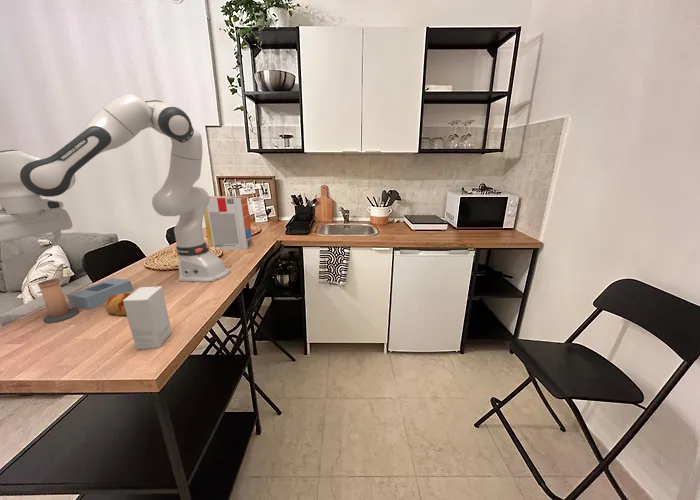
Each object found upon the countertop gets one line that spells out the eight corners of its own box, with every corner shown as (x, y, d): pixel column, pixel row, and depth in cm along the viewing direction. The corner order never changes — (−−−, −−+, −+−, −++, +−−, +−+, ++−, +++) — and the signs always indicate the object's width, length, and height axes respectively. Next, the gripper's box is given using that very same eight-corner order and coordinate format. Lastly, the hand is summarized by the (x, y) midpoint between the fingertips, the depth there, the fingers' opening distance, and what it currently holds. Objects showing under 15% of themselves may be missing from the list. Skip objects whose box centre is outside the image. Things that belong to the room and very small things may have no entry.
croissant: (104, 315, 108) (86, 302, 102) (127, 294, 114) (111, 280, 109) (139, 327, 99) (121, 313, 94) (162, 303, 105) (146, 289, 100)
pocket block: (133, 290, 120) (130, 280, 118) (89, 309, 105) (85, 297, 104) (115, 287, 123) (112, 277, 121) (70, 305, 108) (66, 294, 107)
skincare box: (151, 333, 90) (139, 286, 85) (174, 332, 90) (163, 285, 85) (134, 350, 82) (120, 299, 77) (159, 349, 82) (147, 298, 77)
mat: (85, 311, 104) (85, 309, 104) (54, 324, 96) (54, 323, 95) (68, 308, 107) (68, 306, 106) (37, 320, 98) (36, 319, 98)
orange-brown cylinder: (73, 311, 103) (62, 279, 99) (55, 319, 98) (43, 285, 94) (63, 309, 104) (53, 278, 101) (45, 316, 100) (34, 284, 96)
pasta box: (252, 245, 179) (246, 195, 170) (247, 249, 171) (240, 197, 162) (216, 245, 181) (208, 196, 172) (209, 249, 173) (200, 198, 164)
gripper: (-21, 212, 80) (-2, 260, 84) (68, 201, 98) (80, 241, 102) (-34, 211, 82) (-14, 258, 86) (56, 201, 100) (69, 240, 104)
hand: (38, 249), depth 94 cm, fingers open, 8 cm apart
